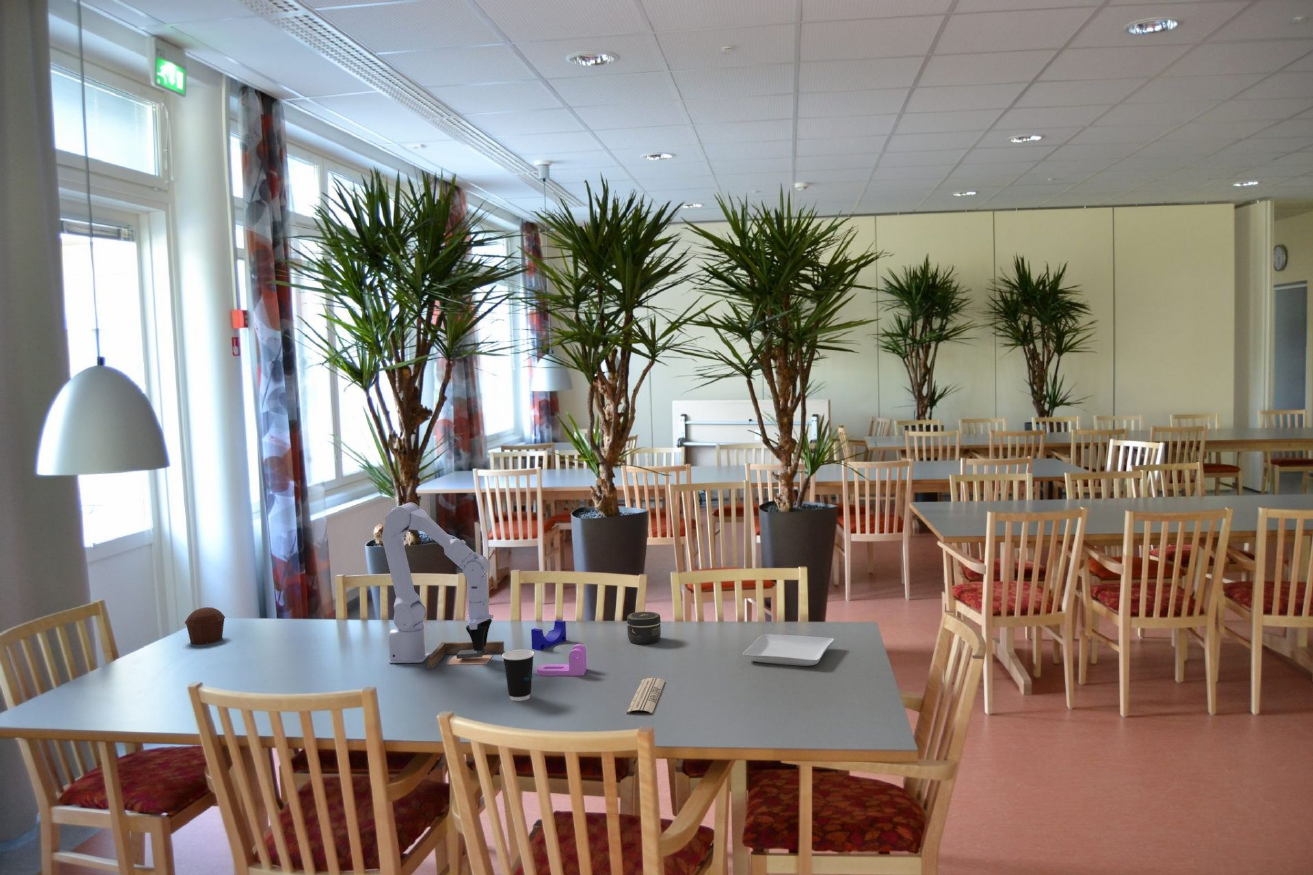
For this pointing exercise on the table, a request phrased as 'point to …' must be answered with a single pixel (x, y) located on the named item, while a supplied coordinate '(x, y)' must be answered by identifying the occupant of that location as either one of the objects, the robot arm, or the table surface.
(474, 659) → the mat
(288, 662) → the table surface
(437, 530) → the robot arm
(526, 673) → the dixie cup
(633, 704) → the newspaper
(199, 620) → the muffin
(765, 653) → the salad plate
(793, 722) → the table surface
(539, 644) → the blue cradle block
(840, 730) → the table surface
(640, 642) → the jar
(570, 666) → the bracket
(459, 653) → the angle bracket
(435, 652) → the corner walls
